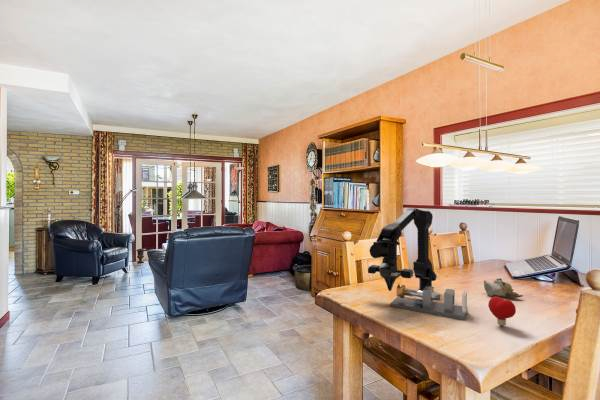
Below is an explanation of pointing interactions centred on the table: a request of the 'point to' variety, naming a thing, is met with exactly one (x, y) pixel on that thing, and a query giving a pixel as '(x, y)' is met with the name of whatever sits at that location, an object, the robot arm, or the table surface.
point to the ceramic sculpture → (500, 289)
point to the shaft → (414, 293)
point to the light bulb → (501, 309)
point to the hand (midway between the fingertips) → (390, 290)
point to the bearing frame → (434, 304)
